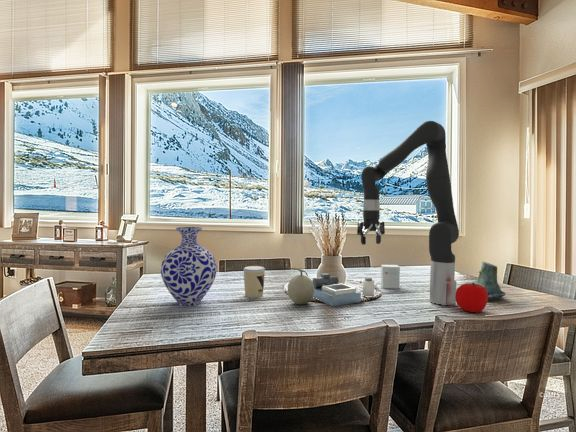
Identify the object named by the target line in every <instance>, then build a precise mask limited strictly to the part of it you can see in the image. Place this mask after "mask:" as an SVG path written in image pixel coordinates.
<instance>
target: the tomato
mask: <svg viewBox="0 0 576 432" xmlns="http://www.w3.org/2000/svg"><path fill="white" fill-rule="evenodd" d="M455 299H456V305H457V306H458V307H459V308H460V309H462V310H464V311H466V312H468V313H473V312H476V313H482V312H483V311H484V309H486V306H487V303H488V293H487V291H486V289H485V288H484V287H483V286H481V285H478V284H474V282H472V283H470V282H466V283H462V284H461V285H460V286H458V287H457V288H456V295H455Z"/></svg>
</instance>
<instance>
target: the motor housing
mask: <svg viewBox="0 0 576 432" xmlns="http://www.w3.org/2000/svg"><path fill="white" fill-rule="evenodd" d="M311 281H312V283H313V286H314V294H313V297H315V298H317V299H319V300H321V301H320V302H322V303H324V304H325V305H328V306H330V307H336V306H345V305H351V304H358V303H361V300H362V294H361V292H360V291H358V290H357V287H354V286H352V285H348V284H345V283H339V282H340V281H339V278H338V276H336V275H331V274H330V273H327V272H326V273H321V274H320V277H314V278H313V279H312V280H311ZM313 297H312V298H313ZM315 298H314V299H315ZM317 299H316V300H317ZM319 300H318V301H319Z"/></svg>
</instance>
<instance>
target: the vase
mask: <svg viewBox="0 0 576 432" xmlns="http://www.w3.org/2000/svg"><path fill="white" fill-rule="evenodd" d="M175 230H176V231H177V232H179V233H180V234H181V242H180V244H179V245H177V246H176V247H174V248H172V249H171V250H170V251H169V252H168V253H167V254H166V255H165V256H164V257H163V260H162V262H161V265H160V266H161V267H160V277H161V279H162V282H163V284H164V286H165V288H166V290H167V291H168V293H169V294H170V295H171V296H172V297H173V299H174V300H175V301H176V302H177V305H179V306H182V307H190V306H191V307H192V306H197V305H199V304H201V302H202V301H203V299H204V298H205V296H206V295H207V294H208V292H209V290H210V289H211V287H212V286H213V283H214V282H215V280H216V276H217V271H218V268H217V261H216V259H215V256H214V255H213V254H212V252H210V251H209V250H208V249H207V248H205V247H204V246H202V245H200V244H199V243H198V241H197V236H198V233H199V232H201V231H202V230H203V227H202V226H201V227H199V226H182V227H181V226H179V227H175Z"/></svg>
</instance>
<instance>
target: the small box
mask: <svg viewBox="0 0 576 432" xmlns="http://www.w3.org/2000/svg"><path fill="white" fill-rule="evenodd" d="M380 269H381V272H380V273H381V274H380V275H381V276H380V287H382V289H396V290H397V289H400V284H401V283H400V282H401V280H400V275H401V266H399V265H398V264H381V268H380Z"/></svg>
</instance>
